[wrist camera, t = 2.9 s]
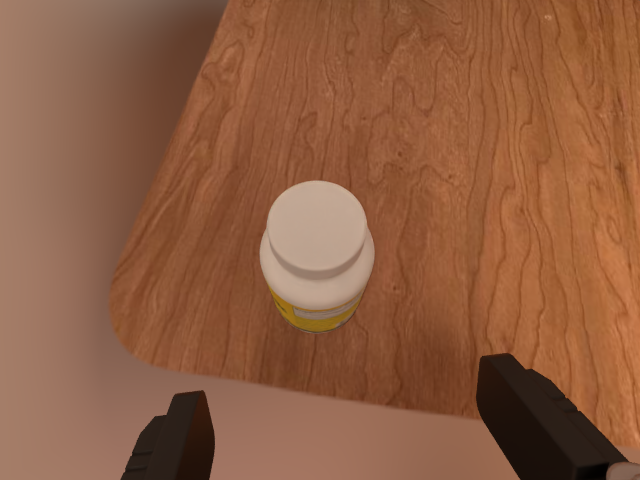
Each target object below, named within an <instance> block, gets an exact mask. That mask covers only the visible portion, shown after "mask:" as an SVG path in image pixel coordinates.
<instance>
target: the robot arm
mask: <svg viewBox="0 0 640 480" xmlns="http://www.w3.org/2000/svg"><path fill="white" fill-rule="evenodd" d="M476 401H477V407H478V410H479V413H480V416H481V418H482V420H483V421H484V423H485V425H486V426H487V428H488V429H489V431H490V433H491V434H492V436H493V437H494V439H495V440H496V442H497V444H498V445H499V447H500V448H501V450H502V451H503V453H504V455H505V456H506V458H507V459H508V461H509V463H510V464H511V466H512V467H513V469H514V471H515V472H516V473H517V475H518V477H519V478H520V480H640V464H637V463H632V462H629V461H628V460H627V459H626V458H625V457H624V456H623V455H622V454H621V453H620V452H619V451H618V450H617V449H616V448H615V447H614V445H613V444H612V443H611V442H610V441H609V440H608V439H607V438H606V437H605V436H604V435H603V434H602V433H601V432H600V431H599V430H598V429H597V428H596V427H595V426H594V425H593V424H592V423H591V422H590V421H589V420H588V419H587V418H586V416H585V415H584V414H583V413H582V412H581V411H578V410H577V407H576V406H575V405H574V404H573V403H572V402H571V401H570V400H569V399H568V398H566V397H565V395H564V394H563V393H562V392H561V391H560V390H559V389H558V387H557V386H556V385H555V384H554V383H553V382H552V381H551V380H549V379H547V378H546V377H544V376H543V375H541V374H539V373H538V372H536V371H534V370H533V369H526V370H525V369H524V367H523V366H522V365H521V364H520V363H519V362H518V361H517V360H516V359H515V358H514V356H512V355H511V354H509V353H502V354H494V355H486V356H482V357H481V358H480V362H479V372H478V383H477V393H476ZM214 449H215V436H214V429H213V425H212V421H211V416H210V412H209V407H208V403H207V399H206V395H205V392H204V391H203V390H201V391H194V392H185V393H178V394H175V395H174V397H173V399H172V401H171V404H170V407H169V409H168V412H167V415H163V416H155V417H154V418H153V419H152V421H151V422H150V423H149V424H148V425H147V426H146V427H145V429H144V430H143V431H142V432H141V434H140V435H139V438H138V440H137V442H136V445H135V447H134V449H133V452H132V456H130V459H129V461H128V464H127V466H126V468H125V472H124V473H123V475H122V478H121V480H209V478H210V473H211V468H212V463H213V457H214Z"/></svg>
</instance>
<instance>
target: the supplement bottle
mask: <svg viewBox="0 0 640 480" xmlns="http://www.w3.org/2000/svg"><path fill="white" fill-rule="evenodd" d="M374 258H375V249H374V243H373V239H372V236H371V233H370V231H369V229H368V227H367V220H366V215H365V212H364V209H363V207H362V205H361V204H360V203H359V201H358V200H357V198H356V197H355V196H354V195H353V194H352V193H351V192H349V191H348V190H347V189H345V188H343V187H342V186H339V185H337V184H334V183H331V182H326V181H307V182H303V183H299V184H297V185H294V186H292V187H290V188H289V189H287V190H286V191H284V192H283V193H282V194H281V195H280V196H279V197H278V198H277V199H276V200H275V202H274V203H273V205H272V207H271V209H270V212H269V215H268V219H267V228H266V230H265V232H264V234H263V237H262V240H261V245H260V263H261V268H262V271H263V275H264V277H265V280H266V282H267V284H268V287H269V289H270V292H271V294H272V296H273V299H274V302H275V304H276V307H277V309H278V310H279V312H280V314H281V315H282V317H283V318H284V319H285V320H286V321H287V322H288V323H289V324H290V325H292V326H293V327H295V328H297V329H299V330H301V331H304V332H308V333H326V332H330V331H333V330H336V329H338V328H339V327H341V326H342V325H344V324H345V323H346V322H347V321H348V320H349V319H350V318H351V317H352V316H353V314H354V313H355V311H356V309H357V307H358V305H359V302H360V300H361V298H362V295H363V292H364V290H365V287H366V285H367V282H368V280H369V278H370V275H371V272H372V269H373V264H374Z"/></svg>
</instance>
